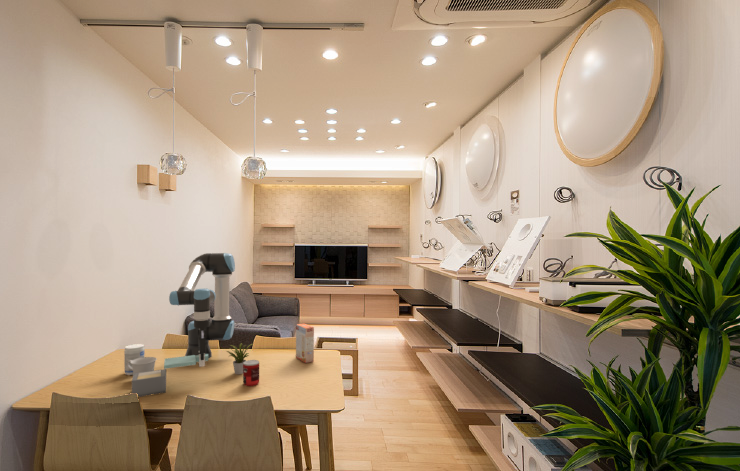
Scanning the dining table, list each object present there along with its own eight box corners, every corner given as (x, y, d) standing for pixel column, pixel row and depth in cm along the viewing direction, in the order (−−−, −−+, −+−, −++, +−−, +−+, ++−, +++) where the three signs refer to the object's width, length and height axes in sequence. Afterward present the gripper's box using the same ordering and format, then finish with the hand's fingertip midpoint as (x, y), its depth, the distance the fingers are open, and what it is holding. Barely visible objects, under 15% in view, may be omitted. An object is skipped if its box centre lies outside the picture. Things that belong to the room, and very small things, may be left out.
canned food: (245, 380, 202) (245, 359, 202) (260, 380, 203) (260, 359, 203) (241, 386, 195) (241, 364, 195) (257, 386, 195) (257, 364, 195)
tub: (166, 384, 197) (166, 369, 197) (165, 392, 187) (165, 376, 187) (133, 389, 191) (134, 373, 191) (131, 397, 181) (131, 380, 181)
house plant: (247, 365, 226) (247, 337, 226) (259, 371, 216) (259, 342, 216) (223, 371, 216) (223, 342, 216) (234, 378, 206) (234, 347, 206)
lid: (207, 356, 206) (207, 351, 206) (208, 362, 195) (208, 358, 195) (164, 361, 197) (164, 357, 197) (164, 368, 186) (164, 363, 186)
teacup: (134, 374, 211) (134, 356, 211) (161, 375, 210) (161, 356, 210) (119, 383, 199) (119, 363, 199) (147, 383, 198) (148, 364, 198)
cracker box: (314, 361, 233) (314, 327, 233) (305, 363, 230) (305, 328, 230) (304, 355, 245) (304, 322, 245) (295, 357, 241) (295, 323, 241)
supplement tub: (145, 373, 213) (145, 346, 213) (124, 377, 208) (124, 349, 208) (143, 368, 221) (143, 342, 221) (124, 371, 216) (124, 345, 216)
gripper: (193, 316, 205) (193, 361, 205) (194, 323, 190) (194, 370, 190) (208, 315, 209) (208, 359, 209) (211, 321, 193) (210, 368, 193)
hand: (201, 364), depth 199 cm, fingers closed on lid, 4 cm apart
